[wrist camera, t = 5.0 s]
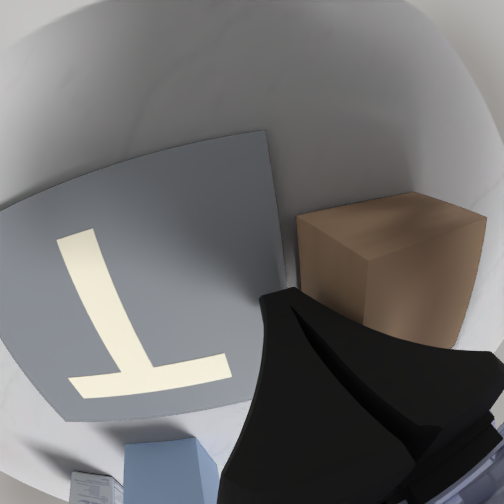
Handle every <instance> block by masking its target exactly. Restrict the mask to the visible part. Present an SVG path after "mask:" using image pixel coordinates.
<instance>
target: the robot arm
mask: <svg viewBox="0 0 504 504" xmlns="http://www.w3.org/2000/svg"><path fill="white" fill-rule="evenodd" d="M259 304H260V310H261V315H262V320H263V326H264V337H263V348H262V358H261V364H260V370H259V375H258V380H257V384H256V388H255V392H254V396H253V399H252V403H251V406H250V409H249V412H248V414H247V417H246V420H245V422H244V425H243V428H242V430H241V433H240V436H239V438H238V440H237V442H236V445H235V447H234V449H233V451H232V453H231V455H230V457H229V459H228V461H227V463H226V465H225V467H224V469H223V470H222V473H221V478H220V483H219V489H218V495H217V504H504V422H503V424H502V425H501V426H500V427H499V428H498V429H497V430H496V428H495V427H496V426H495V420H494V416H493V414H492V412H491V410H490V409H491V407H492V406H493V404H494V403H495V402H496V400H497V399H498V397H499V396H500V394H501V393H502V391H503V390H504V364H503V363H502V362H501V361H500V360H499V359H498V358H497V357H496V356H495V355H494V354H493V353H492V352H490V351H466V350H453V349H446V348H439V347H433V346H428V345H423V344H419V343H415V342H411V341H407V340H403V339H400V338H396V337H393V336H390V335H387V334H385V333H382V332H379V331H376V330H374V329H371V328H369V327H366V326H364V325H362V324H360V323H357V322H355V321H353V320H351V319H349V318H347V317H345V316H343V315H341V314H339V313H337V312H335V311H334V310H332V309H330V308H328V307H326V306H325V305H323V304H321V303H320V302H318V301H316V300H315V299H313V298H311V297H310V296H308V295H307V294H305V293H303V292H302V291H300V290H299V289H297V288H295V287H291V288H287V289H284V290H280V291H276V292H272V293H269V294H265V295H261V297H260V298H259Z"/></svg>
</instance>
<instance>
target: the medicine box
mask: <svg viewBox="0 0 504 504" xmlns="http://www.w3.org/2000/svg"><path fill="white" fill-rule="evenodd" d="M69 504H123V487H122V486H121V485H120V484H119V483H118V482H117V481H115V480H114V479H113V477H109V476H103V475H97V474H89V473H83V472H78V471H74V472H72V474H71V486H70V498H69Z"/></svg>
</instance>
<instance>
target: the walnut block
mask: <svg viewBox="0 0 504 504" xmlns="http://www.w3.org/2000/svg"><path fill="white" fill-rule="evenodd" d="M486 221H487V217H485V216H482V215H480V214H477V213H475V212H472V211H469V210H467V209H464V208H461V207H458V206H456V205H453V204H450V203H447V202H444V201H441V200H438V199H435V198H432V197H429V196H426V195H423V194H420V193H416V192H411V193H406V194H401V195H395V196H390V197H385V198H379V199H374V200H369V201H364V202H359V203H354V204H349V205H344V206H339V207H334V208H329V209H325V210H320V211H315V212H310V213H306V214H301V215H296V223H297V234H298V246H299V260H300V274H301V289H302V292H303V293H305V294H307V295H308V296H310V297H311V298H313V299H315V300H316V301H318V302H320V303H321V304H323V305H325V306H326V307H328V308H330V309H332V310H334V311H335V312H337V313H339V314H341V315H343V316H345V317H347V318H349V319H351V320H353V321H355V322H357V323H360V324H362V325H364V326H366V327H369V328H371V329H374V330H376V331H379V332H382V333H385V334H387V335H390V336H393V337H396V338H400V339H403V340H407V341H411V342H415V343H419V344H423V345H428V346H433V347H439V348H446V349H450V348H451V347H453V346H454V345H455V343H456V340H457V337H458V335H459V332H460V329H461V326H462V323H463V320H464V317H465V314H466V311H467V308H468V305H469V301H470V298H471V294H472V291H473V287H474V283H475V279H476V275H477V271H478V266H479V262H480V257H481V252H482V246H483V241H484V235H485V228H486Z"/></svg>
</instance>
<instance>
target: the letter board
mask: <svg viewBox="0 0 504 504" xmlns="http://www.w3.org/2000/svg"><path fill="white" fill-rule="evenodd" d="M284 289H287V279H286V271H285V263H284V255H283V247H282V240H281V232H280V225H279V217H278V210H277V203H276V196H275V189H274V183H273V176H272V169H271V163H270V157H269V150H268V144H267V138H266V132H265V130H261V131H254V132H248V133H242V134H236V135H230V136H225V137H220V138H215V139H210V140H205V141H200V142H196V143H191V144H187V145H182V146H178V147H174V148H170V149H166V150H162V151H158V152H155V153H151V154H147V155H144V156H140V157H137V158H133V159H130V160H127V161H124V162H120V163H117V164H114V165H111V166H108V167H105V168H102V169H99V170H96V171H93V172H90V173H88V174H85V175H82V176H79V177H77V178H74V179H72V180H69V181H66V182H64V183H61V184H59V185H56V186H54V187H52V188H49V189H47V190H45V191H42V192H40V193H38V194H35V195H33V196H31V197H29V198H27V199H24V200H22V201H20V202H18V203H16V204H14V205H12V206H10V207H8V208H6V209H4V210H2V211H0V338H1V340H2V342H3V343H4V345H5V346H6V348H7V349H8V351H9V352H10V354H11V355H12V357H13V358H14V360H15V361H16V363H17V364H18V365H19V367H20V368H21V370H22V371H23V372H24V374H25V375H26V376H27V378H28V379H29V380H30V381H31V383H32V384H33V385H34V386H35V388H36V389H37V390H38V391H39V393H40V394H41V395H42V396H43V397H44V399H45V400H46V401H47V402H48V403H49V404H50V405H51V407H52V408H53V409H54V410H55V411H56V412H57V413H58V414H59V415H60V416H61V417H62V418H63V419H64V420H65V421H66V422H100V421H121V420H134V419H145V418H155V417H163V416H171V415H178V414H184V413H190V412H196V411H202V410H207V409H213V408H218V407H222V406H227V405H232V404H236V403H240V402H245V401H249V400H252V399H253V396H254V392H255V388H256V384H257V380H258V375H259V370H260V364H261V358H262V348H263V337H264V326H263V320H262V315H261V310H260V304H259V298H260V297H261V295H265V294H269V293H272V292H276V291H280V290H284Z"/></svg>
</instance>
